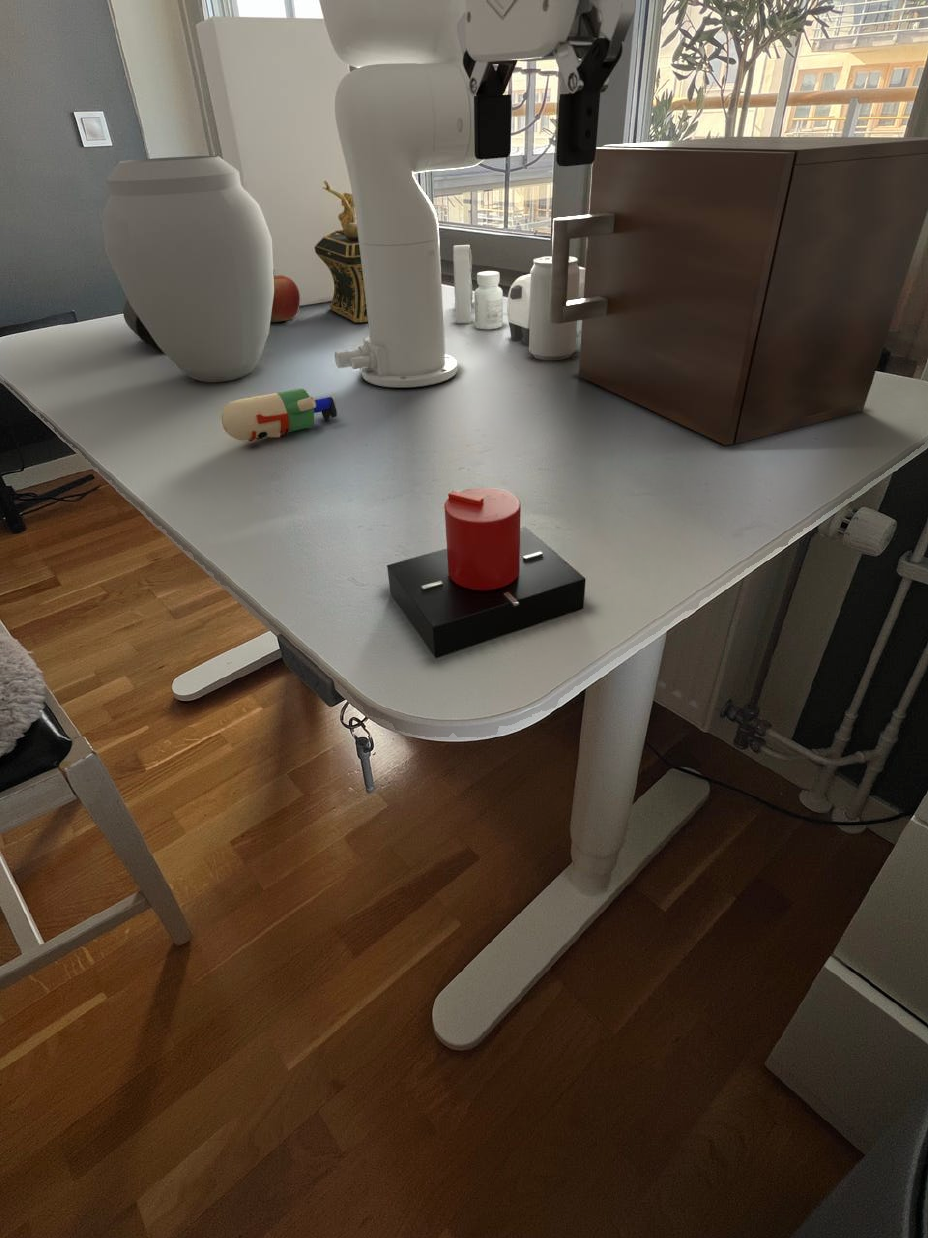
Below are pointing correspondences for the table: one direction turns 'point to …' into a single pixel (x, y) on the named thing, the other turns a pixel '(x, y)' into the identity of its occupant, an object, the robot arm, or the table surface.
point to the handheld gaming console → (462, 283)
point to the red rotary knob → (483, 537)
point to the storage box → (281, 132)
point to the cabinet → (828, 272)
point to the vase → (192, 261)
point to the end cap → (138, 326)
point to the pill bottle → (488, 301)
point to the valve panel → (484, 597)
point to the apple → (284, 299)
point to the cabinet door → (673, 276)
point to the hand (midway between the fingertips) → (531, 161)
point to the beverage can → (544, 335)
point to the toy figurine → (274, 414)
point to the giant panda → (526, 306)
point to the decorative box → (345, 263)
